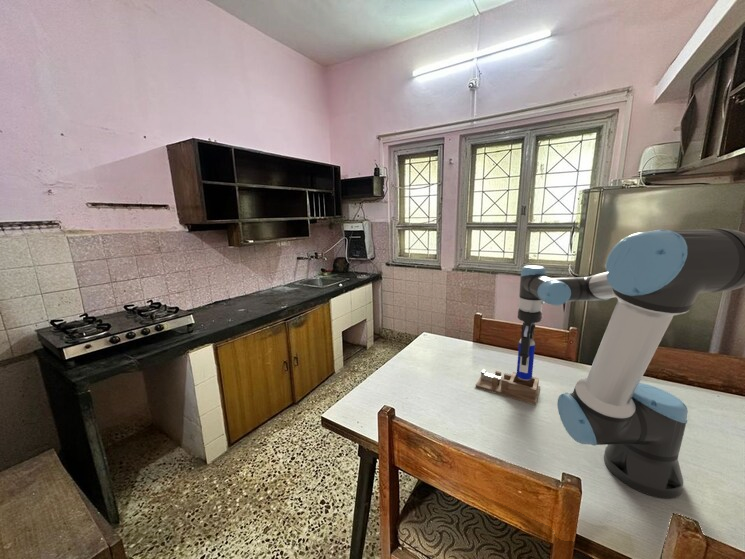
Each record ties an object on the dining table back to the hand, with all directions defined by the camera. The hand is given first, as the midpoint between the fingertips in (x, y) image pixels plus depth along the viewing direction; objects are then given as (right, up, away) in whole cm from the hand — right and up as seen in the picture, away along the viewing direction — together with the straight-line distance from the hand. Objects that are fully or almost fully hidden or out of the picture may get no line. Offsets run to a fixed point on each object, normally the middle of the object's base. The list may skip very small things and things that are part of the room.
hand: (524, 368), depth 110 cm
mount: (-4, -9, +5) cm, 11 cm away
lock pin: (-9, -8, +9) cm, 15 cm away
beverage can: (0, -4, +1) cm, 4 cm away
